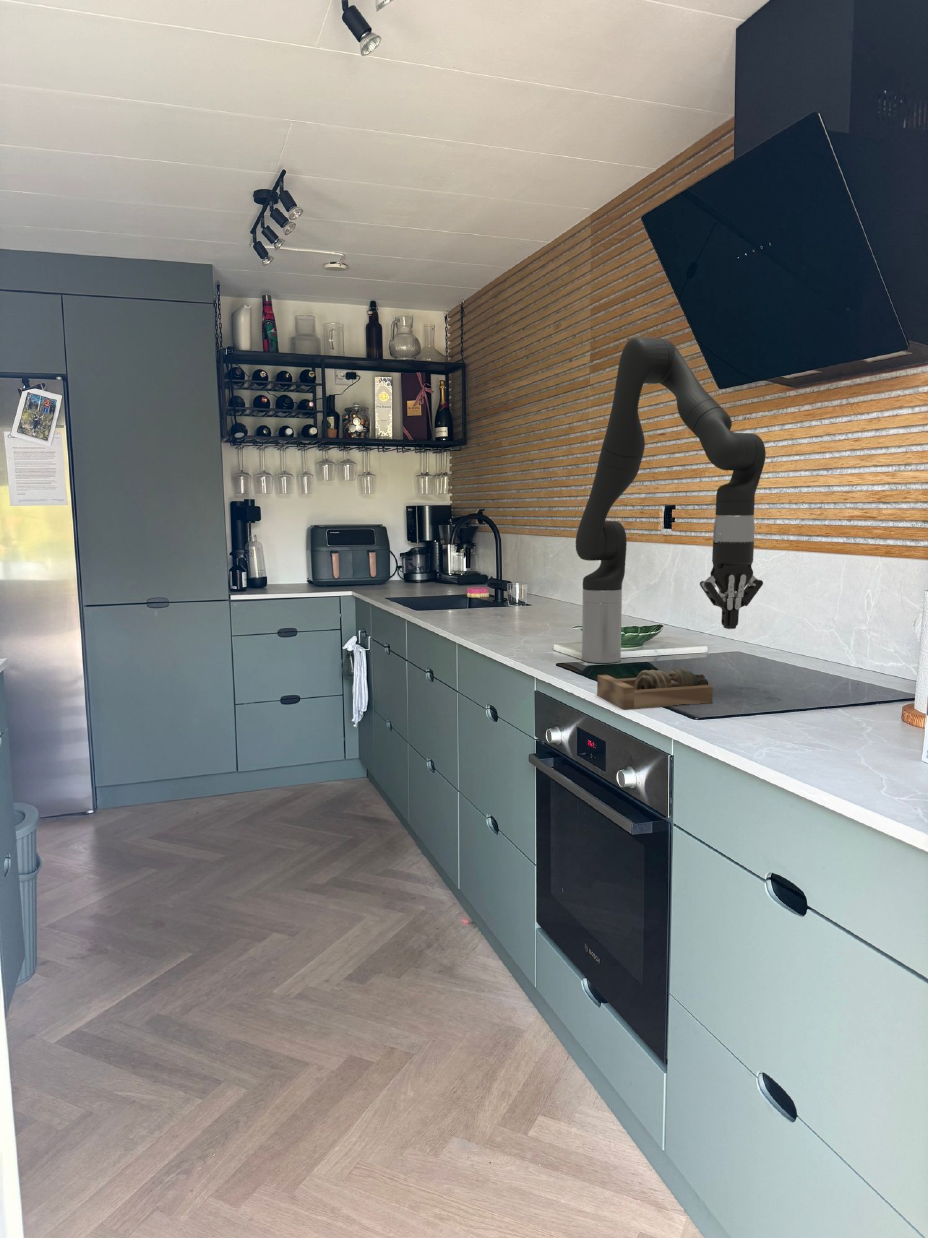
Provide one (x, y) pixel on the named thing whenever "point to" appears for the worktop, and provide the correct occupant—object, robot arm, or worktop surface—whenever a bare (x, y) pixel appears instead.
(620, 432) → the robot arm
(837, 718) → the worktop surface
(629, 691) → the tray
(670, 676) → the light bulb
